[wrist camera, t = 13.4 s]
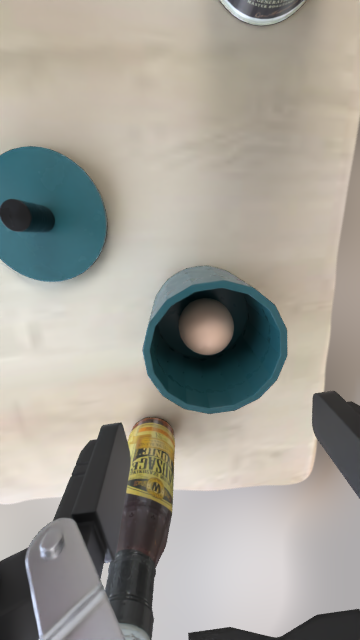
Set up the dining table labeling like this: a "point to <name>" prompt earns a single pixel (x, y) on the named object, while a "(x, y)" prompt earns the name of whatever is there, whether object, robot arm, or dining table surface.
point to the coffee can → (262, 10)
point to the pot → (221, 368)
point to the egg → (206, 326)
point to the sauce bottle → (142, 527)
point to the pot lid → (48, 215)
